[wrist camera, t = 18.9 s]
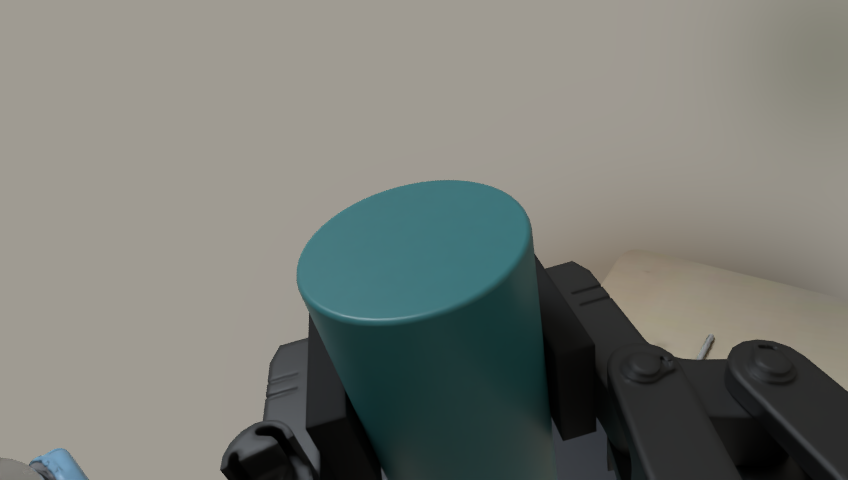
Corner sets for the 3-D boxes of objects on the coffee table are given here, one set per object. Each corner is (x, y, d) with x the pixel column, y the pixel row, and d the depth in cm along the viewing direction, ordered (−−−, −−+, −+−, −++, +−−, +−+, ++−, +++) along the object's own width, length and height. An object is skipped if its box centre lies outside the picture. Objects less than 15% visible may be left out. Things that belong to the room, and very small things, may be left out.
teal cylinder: (444, 636, 12) (302, 362, 6) (405, 486, 15) (289, 220, 10) (592, 570, 12) (581, 260, 7) (522, 438, 16) (476, 159, 10)
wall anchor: (679, 382, 53) (687, 380, 52) (704, 333, 58) (712, 331, 57) (686, 389, 53) (693, 387, 52) (710, 339, 58) (718, 337, 57)
